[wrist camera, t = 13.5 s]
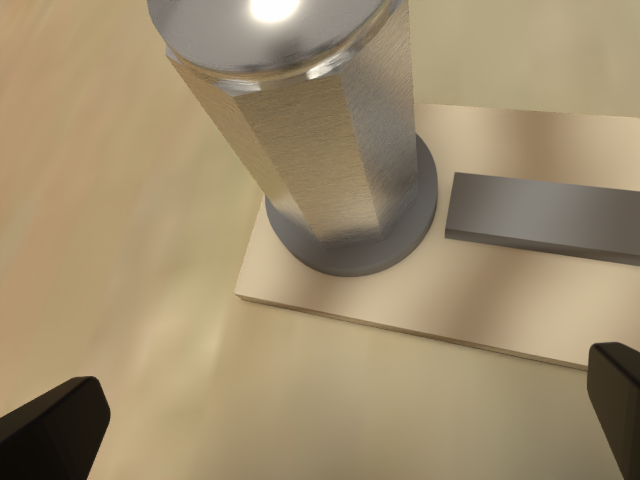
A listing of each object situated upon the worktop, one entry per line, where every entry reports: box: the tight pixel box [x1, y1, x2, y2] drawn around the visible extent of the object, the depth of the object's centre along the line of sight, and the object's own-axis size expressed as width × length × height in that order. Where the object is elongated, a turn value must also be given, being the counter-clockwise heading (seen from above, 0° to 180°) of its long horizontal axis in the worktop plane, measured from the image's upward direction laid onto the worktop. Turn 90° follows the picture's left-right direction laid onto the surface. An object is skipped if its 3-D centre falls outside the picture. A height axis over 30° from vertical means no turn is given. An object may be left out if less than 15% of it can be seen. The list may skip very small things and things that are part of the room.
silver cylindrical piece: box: [147, 0, 419, 250], centre depth 14 cm, size 6×6×10 cm
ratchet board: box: [233, 103, 640, 371], centre depth 17 cm, size 20×10×5 cm, turn 76°
